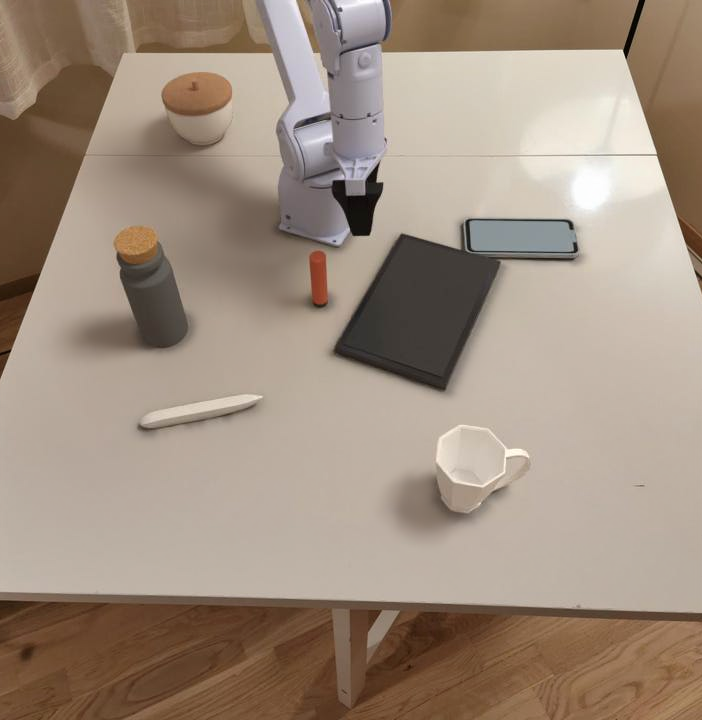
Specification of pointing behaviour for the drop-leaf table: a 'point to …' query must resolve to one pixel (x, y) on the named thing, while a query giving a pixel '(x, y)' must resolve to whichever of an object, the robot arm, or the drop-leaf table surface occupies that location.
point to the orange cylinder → (318, 278)
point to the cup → (473, 466)
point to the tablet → (419, 311)
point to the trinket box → (199, 106)
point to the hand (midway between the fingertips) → (363, 215)
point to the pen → (198, 411)
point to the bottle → (150, 287)
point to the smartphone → (521, 237)
